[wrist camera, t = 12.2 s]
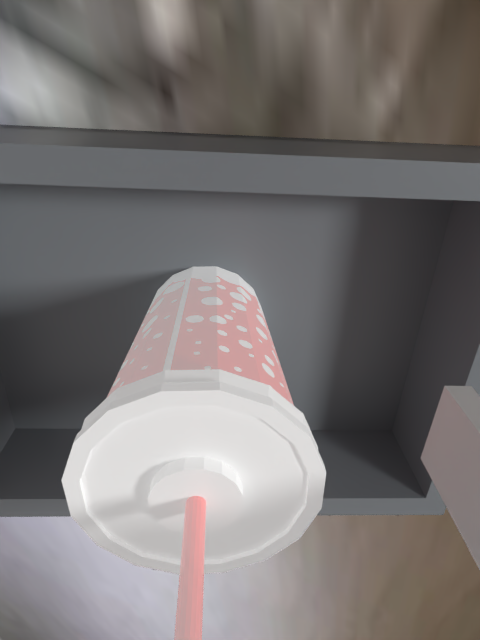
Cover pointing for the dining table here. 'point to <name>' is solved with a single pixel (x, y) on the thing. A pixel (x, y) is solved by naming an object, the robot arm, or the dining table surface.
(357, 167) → the box
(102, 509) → the beverage cup
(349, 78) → the dining table surface
